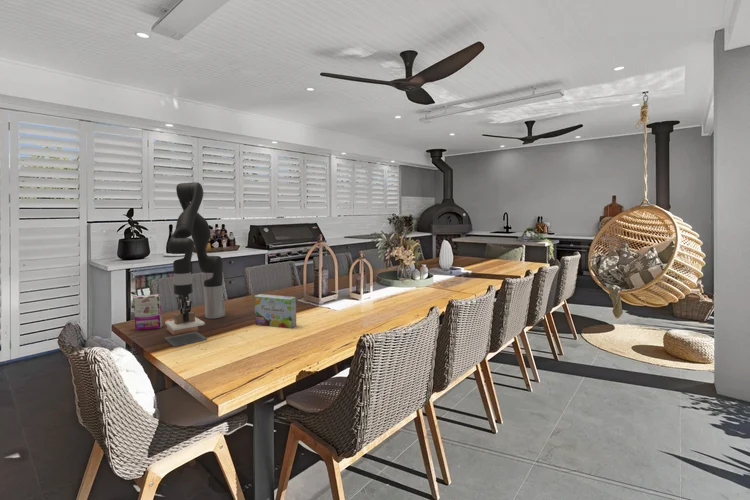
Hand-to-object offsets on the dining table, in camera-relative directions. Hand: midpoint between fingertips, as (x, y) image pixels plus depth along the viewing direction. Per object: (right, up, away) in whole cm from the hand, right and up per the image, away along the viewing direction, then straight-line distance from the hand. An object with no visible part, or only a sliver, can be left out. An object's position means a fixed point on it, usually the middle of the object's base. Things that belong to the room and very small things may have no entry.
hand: (184, 320), depth 185 cm
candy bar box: (-26, -7, +18) cm, 32 cm away
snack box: (+35, -7, +23) cm, 43 cm away
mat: (0, -9, +1) cm, 9 cm away
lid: (0, -2, 0) cm, 2 cm away
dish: (-8, -7, +14) cm, 18 cm away
